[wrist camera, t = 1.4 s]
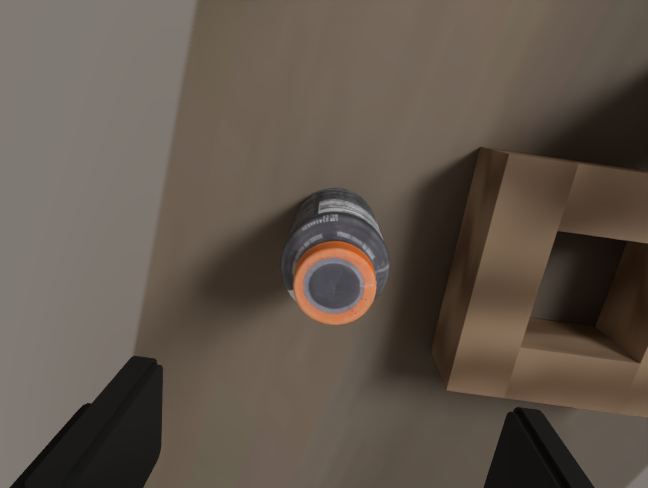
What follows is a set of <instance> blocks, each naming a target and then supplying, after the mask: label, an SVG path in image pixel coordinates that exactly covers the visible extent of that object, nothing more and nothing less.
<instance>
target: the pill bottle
mask: <svg viewBox="0 0 648 488" xmlns="http://www.w3.org/2000/svg"><path fill="white" fill-rule="evenodd" d="M280 266H281V275H282V279H283V282H284V285H285V287H286V289H287V291H288V292H289V293H290V295H291V296H292V297H293V299H294V300H295V301H296V302H297V303H298V305H299V307H300V308H301V310H302V311H303V312H304V313H305V314H306V315H307V316H309V317H310V318H312V319H313V320H315V321H318V322H320V323H323V324H328V325H341V324H346V323H349V322H352V321H354V320H356V319H358V318H359V317H361V316H362V315H363V314H364V313H365V312H366V311H367V310H368V309H369V307H370V306H371V304H372V303H373V302H374V301H375V300H376V299H377V297H378V296H379V295H380V293H381V292H382V290H383V289H384V287H385V284H386V282H387V279H388V275H389V267H390V265H389V255H388V251H387V248H386V245H385V243H384V241H383V238H382V235H381V233H380V230H379V228H378V225H377V222H376V220H375V217H374V214H373V212H372V210H371V208H370V206H369V205H368V204H367V203H366V201H365V200H364V199H363V198H361V197H360V196H359V195H357V194H355V193H353V192H351V191H349V190H346V189H340V188H330V189H324V190H321V191H318V192H316V193H314V194H313V195H311V196H310V197H309V198H307V199H306V200H305V201H304V202H303V204H302V205H301V206H300V207H299V209H298V211H297V213H296V215H295V218H294V221H293V224H292V227H291V229H290V232H289V235H288V237H287V240H286V243H285V245H284V248H283V251H282V255H281V263H280Z"/></svg>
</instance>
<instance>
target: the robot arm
mask: <svg viewBox="0 0 648 488" xmlns="http://www.w3.org/2000/svg"><path fill="white" fill-rule="evenodd" d="M162 387H163V367H162V365H157V361H156V359H154V358H147V357H139V356H133V357H131V358H130V359H129V361H128V362H127V363H126V364H125V365H124V366H123V368H122V369H121V370H120V371H119V372H118V373H117V375H116V376H115V377H114V378H113V379H112V381H111V382H110V383H109V384H108V385H107V387H105V389H104V390H103V391H102V392H101V393H100V394H99V396H98V397H97V398H96V399H95V400H94V402H93V403H92V404H91V403H87V404H85V405H83V406H82V407H81V408H80V409H79V410H78V411H77V412H76V413H75V414H74V415H73V417H72V418H71V419H70V420H69V421H68V422H67V423H66V424H65V426H64V427H63V428H62V429H61V430H60V431H59V433H58V434H57V435H56V436H55V437H54V438H53V439H52V440H51V441H50V443H49V444H48V445H47V446H46V447H45V449H43V450H42V452H41V453H40V454H39V455H38V456H37V457H36V458H35V460H34V461H33V462H32V463H31V464H30V465H29V466H28V467H27V469H26V470H25V471H24V472H23V473H22V475H20V477H19V478H18V479H17V480H16V481H15V482H14V483H13V485H12V486H11V487H10V488H143V487H144V485H145V483H146V481H147V479H148V477H149V475H150V474H151V472H152V470H153V468H154V466H155V464H156V462H157V460H158V457H159V454H160V450H161V433H162ZM484 488H594V486H593V485H592V483H591V482H590V480H589V479H588V478H587V476H586V475H585V473H584V472H583V470H582V469H581V468H580V466H579V465H578V463H577V462H576V460H575V459H574V457H573V456H572V455H571V453H570V452H569V450H568V449H567V447H566V446H565V445H564V443H563V442H562V440H561V439H560V437H559V436H558V434H557V433H556V432H555V430H554V429H553V427H552V426H551V424H550V423H549V422H548V420H547V419H546V417H545V416H544V414H543V413H542V412H541V411H540V410H536V409H529V408H521V407H517V408H515V409H514V411H513V412H509V413H508V414H507V416H506V419H505V422H504V425H503V428H502V431H501V435H500V438H499V441H498V444H497V447H496V450H495V453H494V456H493V460H492V463H491V466H490V469H489V472H488V475H487V478H486V482H485V485H484Z"/></svg>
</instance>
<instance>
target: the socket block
mask: <svg viewBox="0 0 648 488" xmlns="http://www.w3.org/2000/svg"><path fill="white" fill-rule="evenodd" d="M557 231H562V232H569V233H576V234H584V235H591V236H598V237H605V238H612V239H619V240H627V243H626V246H625V248H624V251H623V254H622V256H621V259H620V262H619V264H618V267H617V270H616V272H615V275H614V278H613V280H612V283H611V286H610V288H609V291H608V294H607V296H606V299H605V302H604V304H603V307H602V310H601V312H600V315H599V318H598V320H597V323H596V326H588V325H581V324H574V323H566V322H559V321H552V320H544V319H537V318H530V315H531V312H532V309H533V306H534V303H535V300H536V297H537V293H538V290H539V287H540V284H541V281H542V278H543V275H544V271H545V268H546V265H547V262H548V259H549V256H550V253H551V249H552V246H553V243H554V240H555V237H556V234H557ZM431 353H432V355H433V358H434V360H435V363H436V365H437V368H438V370H439V373H440V375H441V378H442V381H443V383H444V386H445V388H446V390H447V391H454V392H462V393H469V394H477V395H484V396H492V397H499V398H506V399H514V400H521V401H529V402H536V403H543V404H551V405H558V406H566V407H573V408H580V409H588V410H595V411H603V412H610V413H617V414H625V415H632V416H640V417H647V418H648V171H646V170H639V169H632V168H625V167H618V166H611V165H604V164H597V163H590V162H583V161H575V160H568V159H561V158H554V157H547V156H540V155H533V154H526V153H519V152H512V151H505V150H497V149H490V148H483V147H480V150H479V154H478V158H477V163H476V167H475V171H474V175H473V179H472V183H471V187H470V191H469V195H468V199H467V204H466V208H465V212H464V216H463V220H462V224H461V228H460V232H459V236H458V240H457V245H456V249H455V253H454V257H453V261H452V265H451V269H450V273H449V277H448V282H447V286H446V290H445V294H444V298H443V302H442V306H441V310H440V314H439V318H438V323H437V327H436V331H435V335H434V339H433V343H432V347H431Z"/></svg>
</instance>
